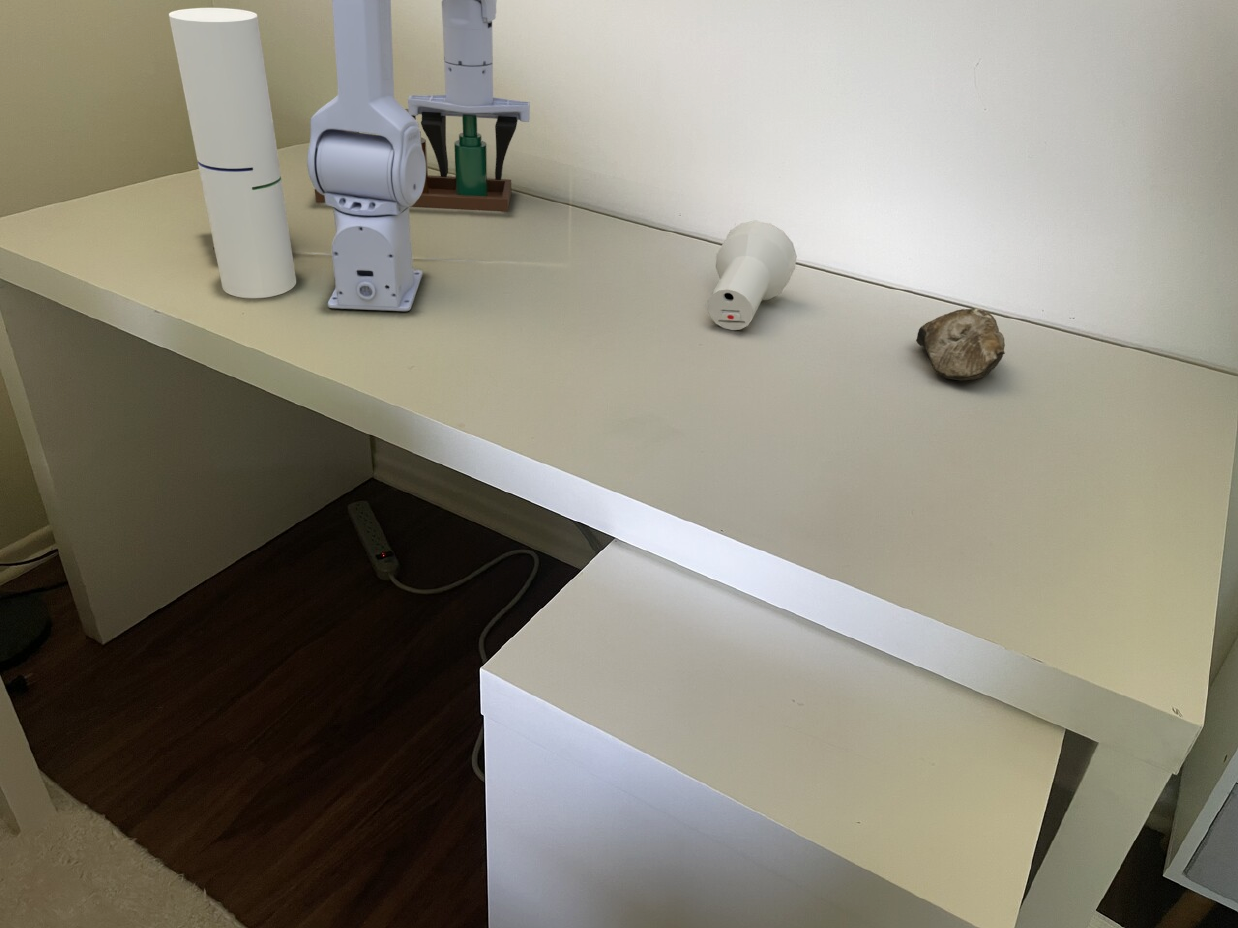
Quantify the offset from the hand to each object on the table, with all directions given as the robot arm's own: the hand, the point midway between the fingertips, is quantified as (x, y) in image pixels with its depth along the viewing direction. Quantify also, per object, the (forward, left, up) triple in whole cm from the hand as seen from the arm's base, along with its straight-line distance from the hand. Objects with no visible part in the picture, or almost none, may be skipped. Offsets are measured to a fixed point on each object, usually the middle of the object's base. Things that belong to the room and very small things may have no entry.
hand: (471, 176), depth 116 cm
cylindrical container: (-28, +19, -4) cm, 34 cm away
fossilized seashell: (-40, -50, -4) cm, 64 cm away
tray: (0, +7, -3) cm, 8 cm away
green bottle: (0, 0, -3) cm, 3 cm away
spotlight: (-29, -31, -4) cm, 43 cm away
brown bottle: (0, +7, -3) cm, 8 cm away
